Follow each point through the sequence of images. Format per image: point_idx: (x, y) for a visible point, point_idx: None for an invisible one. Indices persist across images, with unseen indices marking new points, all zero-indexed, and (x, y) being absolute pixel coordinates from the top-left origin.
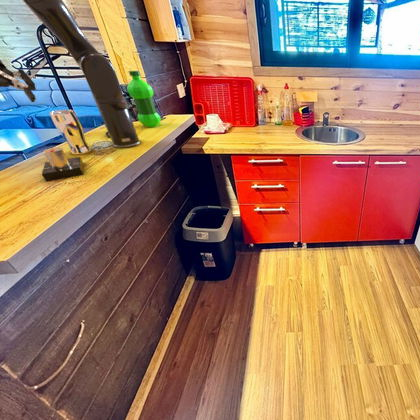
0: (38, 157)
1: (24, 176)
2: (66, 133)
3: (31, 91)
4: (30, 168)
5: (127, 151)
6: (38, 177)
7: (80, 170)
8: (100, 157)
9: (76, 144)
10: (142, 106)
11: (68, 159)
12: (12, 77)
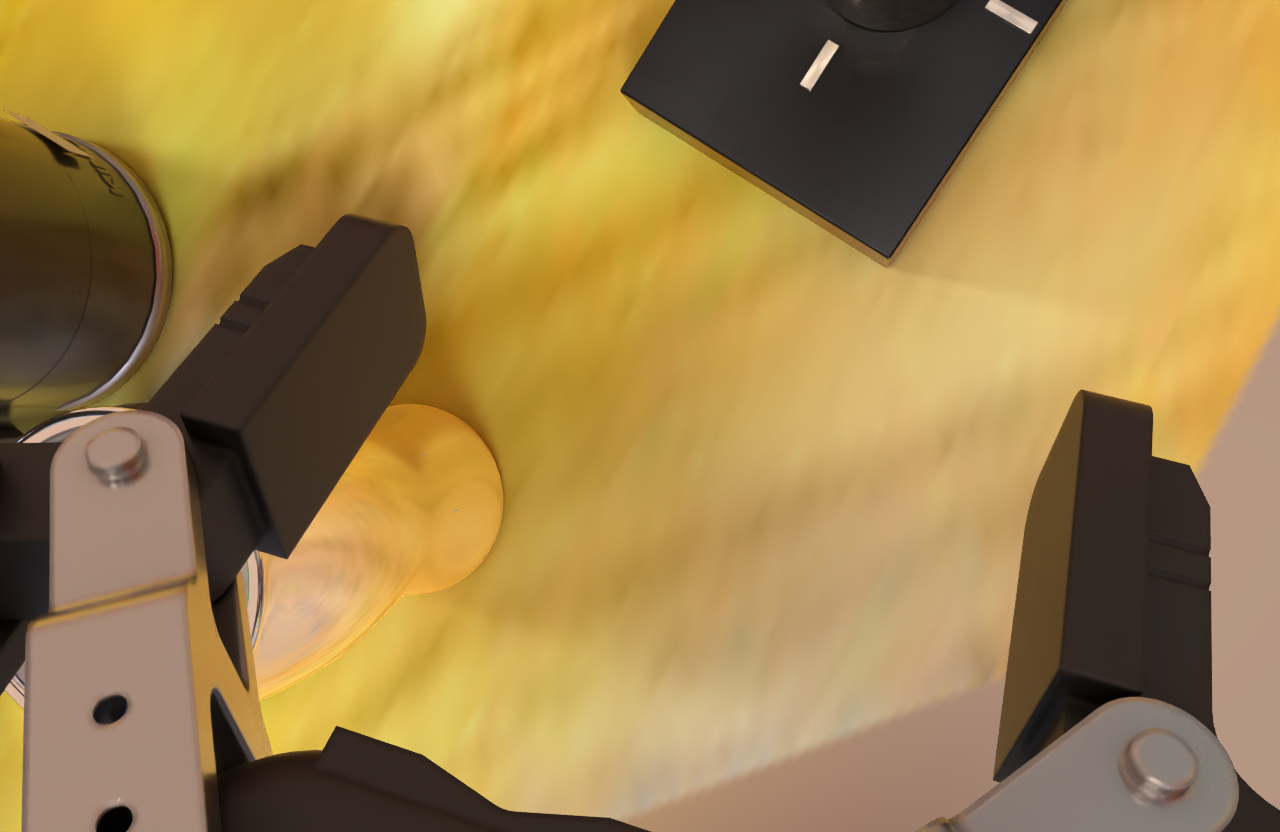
0: (720, 753)
1: (1120, 283)
2: (387, 462)
3: (195, 351)
4: (957, 473)
5: (206, 47)
6: (1077, 121)
7: None
8: (447, 129)
9: (415, 438)
10: None
11: (728, 115)
12: (56, 723)
